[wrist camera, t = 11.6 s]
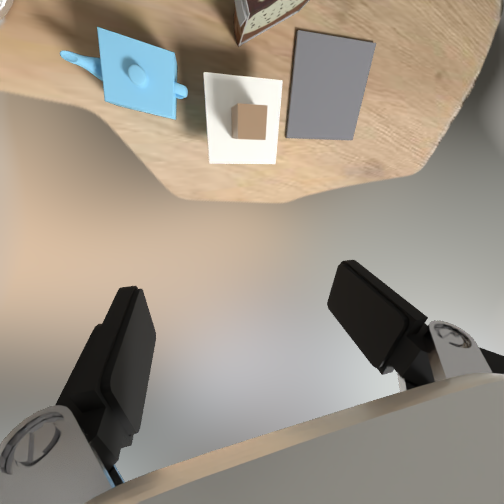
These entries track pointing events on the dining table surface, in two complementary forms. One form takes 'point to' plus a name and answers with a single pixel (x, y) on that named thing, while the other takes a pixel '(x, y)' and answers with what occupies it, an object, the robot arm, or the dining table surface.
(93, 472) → the robot arm
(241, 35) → the food container
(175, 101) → the teapot
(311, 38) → the mat
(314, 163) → the dining table surface
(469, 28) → the dining table surface
